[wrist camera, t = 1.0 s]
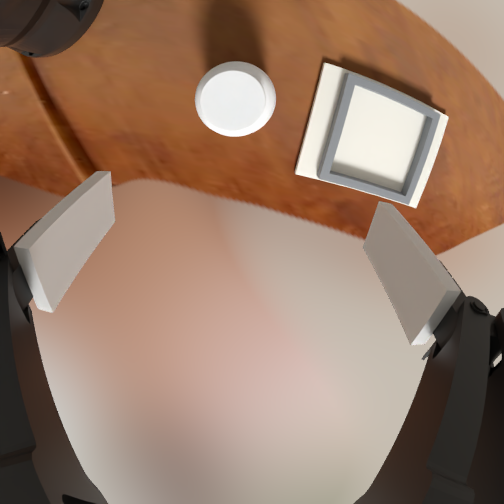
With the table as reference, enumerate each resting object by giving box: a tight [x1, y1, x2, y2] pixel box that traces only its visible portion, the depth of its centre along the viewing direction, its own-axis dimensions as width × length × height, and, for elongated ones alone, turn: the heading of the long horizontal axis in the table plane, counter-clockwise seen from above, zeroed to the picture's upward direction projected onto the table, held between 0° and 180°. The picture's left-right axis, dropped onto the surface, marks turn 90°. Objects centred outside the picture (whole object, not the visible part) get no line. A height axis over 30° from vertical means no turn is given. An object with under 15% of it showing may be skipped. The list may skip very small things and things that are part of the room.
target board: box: [295, 63, 449, 208], centre depth 30 cm, size 18×14×2 cm
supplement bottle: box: [195, 61, 276, 136], centre depth 23 cm, size 7×7×13 cm
